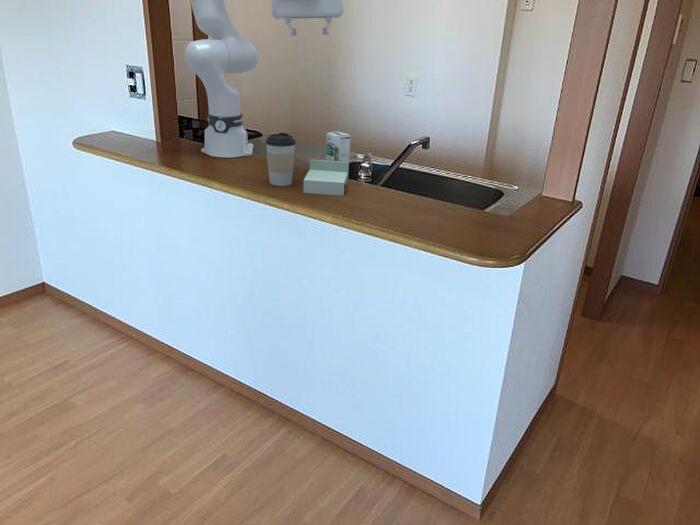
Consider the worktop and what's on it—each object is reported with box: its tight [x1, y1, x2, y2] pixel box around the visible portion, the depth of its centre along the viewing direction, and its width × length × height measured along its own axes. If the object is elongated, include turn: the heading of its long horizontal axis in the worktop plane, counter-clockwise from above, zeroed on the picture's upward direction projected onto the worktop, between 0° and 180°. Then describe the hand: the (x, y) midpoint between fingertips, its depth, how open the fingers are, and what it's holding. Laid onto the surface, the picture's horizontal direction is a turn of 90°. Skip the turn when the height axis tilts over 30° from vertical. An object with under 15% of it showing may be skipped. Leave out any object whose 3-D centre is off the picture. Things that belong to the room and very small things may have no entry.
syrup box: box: [325, 131, 351, 179], centre depth 179 cm, size 6×6×14 cm
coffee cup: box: [265, 132, 296, 187], centre depth 170 cm, size 9×9×15 cm
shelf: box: [302, 159, 349, 197], centre depth 169 cm, size 13×12×7 cm
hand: (309, 34), depth 159 cm, fingers open, 8 cm apart
